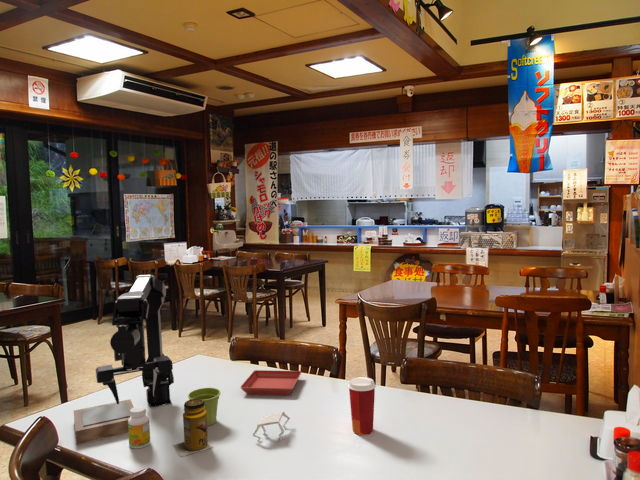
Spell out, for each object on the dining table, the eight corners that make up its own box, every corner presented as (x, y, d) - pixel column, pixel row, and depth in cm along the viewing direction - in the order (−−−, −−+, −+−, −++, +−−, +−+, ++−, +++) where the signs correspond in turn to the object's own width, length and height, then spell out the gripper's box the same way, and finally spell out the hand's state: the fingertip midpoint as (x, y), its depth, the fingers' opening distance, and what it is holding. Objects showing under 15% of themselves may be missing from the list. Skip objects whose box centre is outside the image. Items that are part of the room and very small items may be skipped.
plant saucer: (254, 378, 182) (254, 369, 182) (302, 379, 179) (302, 370, 179) (239, 397, 164) (239, 387, 164) (292, 398, 162) (292, 388, 161)
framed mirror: (131, 410, 154) (130, 398, 154) (138, 430, 140) (137, 416, 140) (74, 422, 147) (73, 409, 147) (76, 444, 133) (75, 430, 132)
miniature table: (279, 447, 128) (278, 428, 128) (251, 442, 131) (250, 424, 131) (298, 427, 139) (297, 410, 139) (272, 423, 142) (271, 407, 142)
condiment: (213, 447, 129) (211, 403, 128) (181, 457, 124) (179, 411, 124) (203, 437, 135) (201, 394, 134) (172, 446, 130) (170, 402, 130)
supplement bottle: (124, 447, 130) (122, 411, 130) (139, 438, 135) (137, 403, 135) (140, 450, 128) (138, 414, 128) (154, 441, 133) (152, 406, 133)
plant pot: (228, 418, 147) (227, 389, 146) (208, 431, 138) (207, 401, 138) (203, 413, 151) (201, 385, 150) (182, 426, 142) (180, 397, 142)
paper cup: (379, 426, 138) (378, 377, 137) (373, 438, 131) (372, 387, 130) (352, 423, 141) (351, 375, 140) (345, 435, 134) (343, 384, 133)
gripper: (163, 331, 142) (166, 384, 143) (92, 341, 133) (96, 397, 134) (171, 339, 132) (174, 396, 133) (95, 351, 123) (99, 411, 124)
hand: (136, 400), depth 131 cm, fingers open, 9 cm apart
